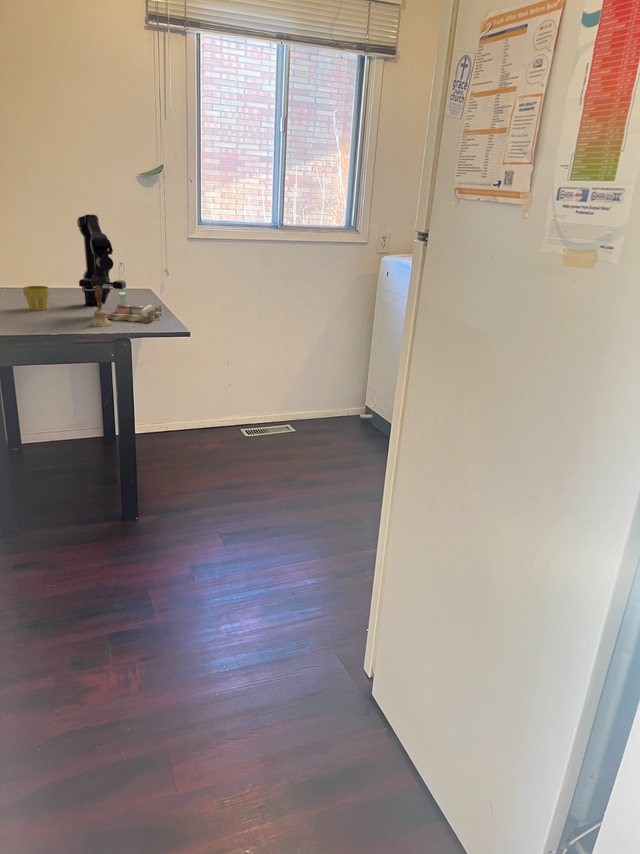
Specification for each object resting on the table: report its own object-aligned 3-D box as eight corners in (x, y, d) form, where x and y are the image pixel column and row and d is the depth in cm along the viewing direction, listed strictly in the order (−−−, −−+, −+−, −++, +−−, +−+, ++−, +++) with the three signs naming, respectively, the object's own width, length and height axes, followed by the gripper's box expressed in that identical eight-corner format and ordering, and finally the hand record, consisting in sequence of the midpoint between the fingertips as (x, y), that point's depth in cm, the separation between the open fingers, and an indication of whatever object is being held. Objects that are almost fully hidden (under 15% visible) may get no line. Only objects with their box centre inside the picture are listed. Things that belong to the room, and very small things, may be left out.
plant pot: (25, 307, 278) (23, 285, 275) (50, 306, 282) (48, 285, 279) (25, 311, 270) (22, 289, 266) (50, 311, 274) (48, 289, 270)
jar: (115, 317, 270) (114, 306, 268) (120, 314, 276) (120, 303, 274) (129, 318, 270) (128, 307, 268) (134, 315, 276) (133, 304, 274)
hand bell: (91, 326, 251) (88, 287, 245) (89, 322, 258) (86, 283, 252) (112, 326, 254) (110, 287, 248) (110, 322, 261) (107, 283, 255)
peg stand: (141, 320, 266) (140, 310, 265) (150, 314, 279) (149, 304, 277) (157, 321, 266) (157, 311, 265) (165, 315, 279) (165, 306, 277)
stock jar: (129, 318, 270) (129, 307, 268) (133, 315, 275) (133, 304, 274) (143, 319, 270) (143, 308, 268) (147, 316, 276) (147, 305, 274)
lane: (103, 319, 265) (102, 308, 264) (116, 312, 280) (115, 302, 279) (151, 322, 265) (150, 311, 263) (161, 315, 280) (161, 305, 279)
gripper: (72, 268, 258) (75, 305, 263) (116, 271, 258) (118, 308, 263) (82, 265, 268) (85, 301, 274) (125, 267, 268) (127, 303, 274)
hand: (103, 303), depth 271 cm, fingers closed
